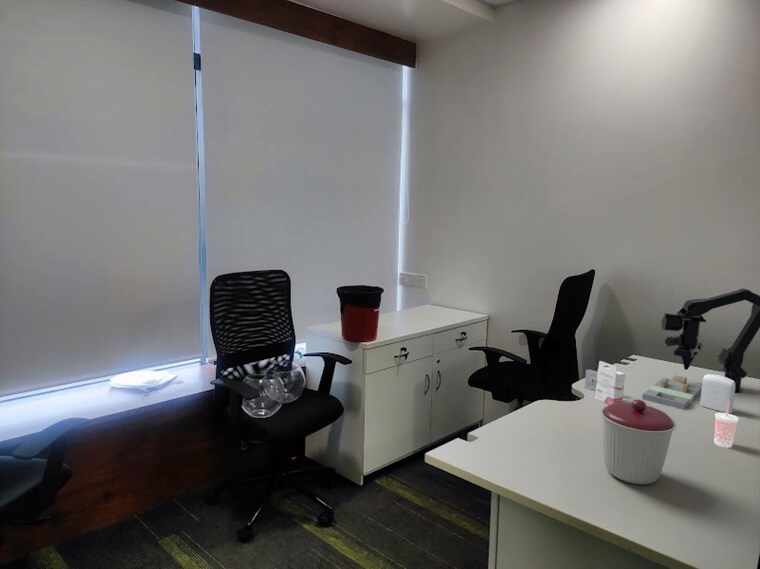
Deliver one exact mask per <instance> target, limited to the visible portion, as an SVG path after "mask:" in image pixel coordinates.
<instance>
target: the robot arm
mask: <svg viewBox="0 0 760 569" xmlns="http://www.w3.org/2000/svg"><path fill="white" fill-rule="evenodd" d="M743 301H746V302H749V303H751V304H752V307H751V310H750V312H751V313H750V316H749V318H748V320H746V323H745V324H744V326H743V327H742V329H741V331H740V332H739V334H738V336H737V337H736V339H735V340H734V341H733V343H732V345H731V347H729V348H727V349H726V348H725V347H723V348H722V350H721V352H720V354H719V355H718V356H717V357H718V360H717V362H718V365H719V366H720V367H721V369H722V371H724V377H726V378H729V379H731V380H733V381H734V382H735V393H738V394H740V393H741V392H742V390H743V387H741V385H742V380H743V379H745V378H746V376H747V374H748V373H747V372H746V371H745V370H744V369H743V368H742V365H743V362H744V355H745V352H746V351H747V349H748V347H749V346H750V344H751V342H752V341H753V339H754V338H755V336H756V334H757V333H758V331H759V330H760V295H759V294H758V293H757V294H756V293H754V292H753V291H751V290H749V289H746V288H740V289H737V290H734V291H731V292H727V293H723V294H719V295H716V296H713V297H712V296H711V297H709V298H693V299H688V300H686V301H685V302H684V304H683V307H682V308H681V309H679V310H678V312H676V314H675V313H669V312H668V313H667V312H664V315H663V317H662V319H661V324H660V325H661V329H662V331H672V332H673V331H674V332H679V331H680V330H682V332H681V333H680V334H679V335H676V336H672V335H671V336H667V337H666V338H665V339H664V344H666V347H672V346H678V347H676V348H674V350H673V355H674V356H676V357H680V358H681V360H682V364H683V369H684V370H687V371H688V370H689V368H690V366H691V365H692V364H693V362H694V361H695V360H696V357H697V356H698V354H699V352H697V351H695V350H697V349H698V350H699V351H702V350H703V344H702V342H700V341H699V338H700V337H701V336H700V335H701V334H699V333H700V326H701V323H707V320H706V319H705V318H704V317H703V315H705V314H707V313H708V312H710V311H711V310H713V309H716V308H720V307H725V306H728V305H731V304H736V303H739V302H743Z"/></svg>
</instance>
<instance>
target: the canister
mask: <svg viewBox="0 0 760 569" xmlns="http://www.w3.org/2000/svg"><path fill="white" fill-rule="evenodd" d="M600 415H601V416H602V428H603V429H602V432H603V433H602V438H603V440H602V441H603V457H604V458H603V460H604V465H605V467H606V469H607V471H608V472H609V473H610V474H611V475H612V476H614V477H615V478H617V479H619V480H621V481H623V482H626V483H629V484H633V485H634V484H635V485H648V484H649V485H651V484H653V483H654V482H656V481H657V480H658V479H659V478H660V477H661V474H662V472H663V468H664V465H665V462H666V459H667V458H666V457H667V453H668V450H669V446H670V443H671V439H672V434H673V431H675V429H676V428H677V423H676V420H674V419H673V417H671V416H669V415H668V414H667V413H666V412H664V411H662V410H660V409H658V408H655V407H652V406H650V405H647V404H646V402H645V401H644V400H643V399H634V400H632V402H622V403H614V404H611V405H609V404H607V405H606V406H603V407H602V408H601V409H600Z"/></svg>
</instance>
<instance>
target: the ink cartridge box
mask: <svg viewBox="0 0 760 569" xmlns="http://www.w3.org/2000/svg"><path fill="white" fill-rule="evenodd" d="M597 372H598V374H597V385H596V391H595V397H594V398H595V399H596V400H597V401H601V402H602V403H605V404H606V405H611V404H614V403H623V402H624V401H623V400H624V391H625V390H624V388H625V379H626V373H624V372H621V371H618V367H617V366H615V365H613V364H610V363H607V362H605V361H602V360H599V362H598V369H597Z"/></svg>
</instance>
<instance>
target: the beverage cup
mask: <svg viewBox="0 0 760 569" xmlns="http://www.w3.org/2000/svg"><path fill="white" fill-rule="evenodd" d="M729 404H730V401H728V405H727V412H726V413H725V412H716V413H715V414H714V418H715V423H714V439H713V443H714V444H715V445H716V446H718V447H722V448H728V449H729V448H732V447H733V442H734V439H735V435H736V434H735V433H736V429H737V424H738V423H739V420H740V417H738V416H736V415H733V414H732V413H728V411H729Z"/></svg>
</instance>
